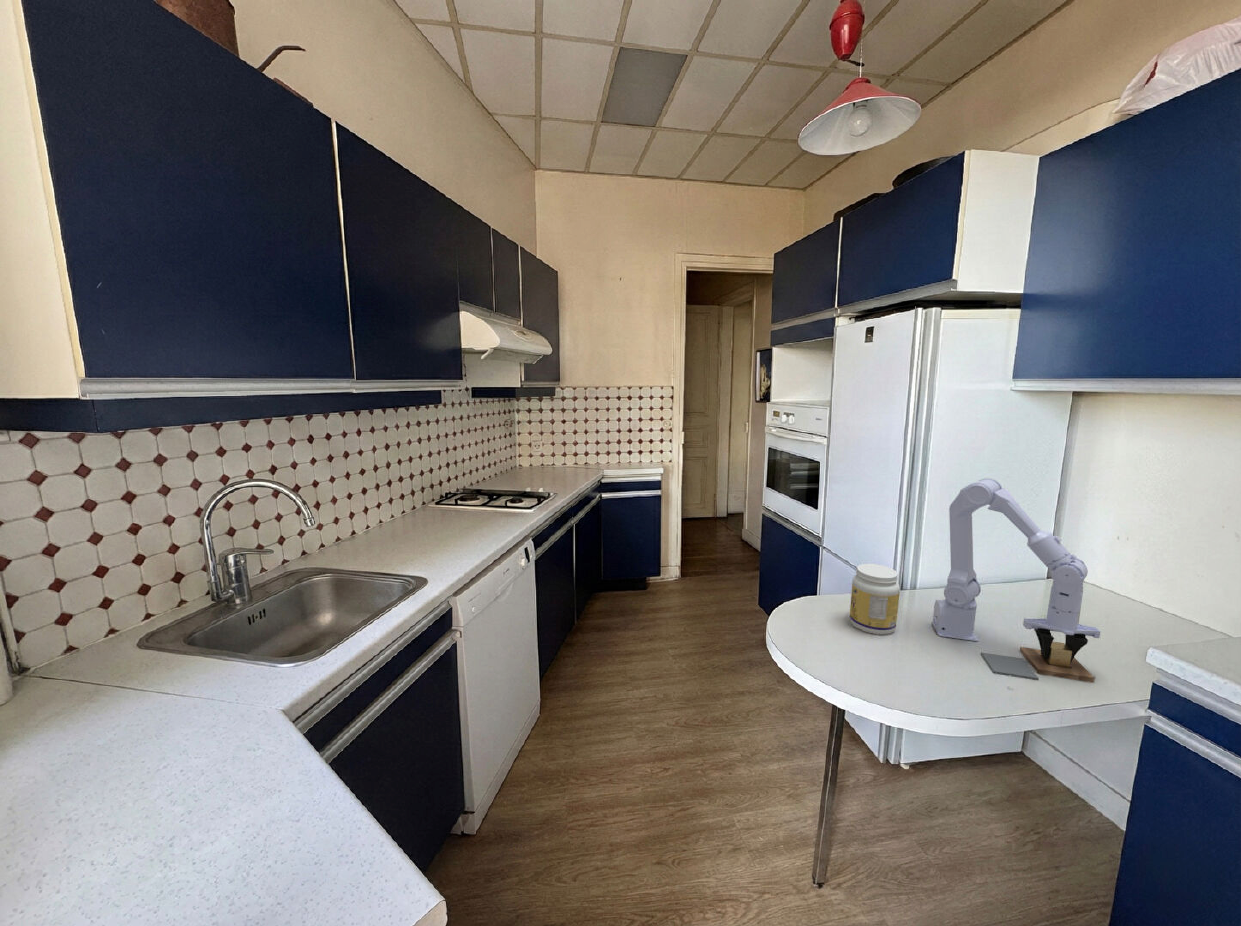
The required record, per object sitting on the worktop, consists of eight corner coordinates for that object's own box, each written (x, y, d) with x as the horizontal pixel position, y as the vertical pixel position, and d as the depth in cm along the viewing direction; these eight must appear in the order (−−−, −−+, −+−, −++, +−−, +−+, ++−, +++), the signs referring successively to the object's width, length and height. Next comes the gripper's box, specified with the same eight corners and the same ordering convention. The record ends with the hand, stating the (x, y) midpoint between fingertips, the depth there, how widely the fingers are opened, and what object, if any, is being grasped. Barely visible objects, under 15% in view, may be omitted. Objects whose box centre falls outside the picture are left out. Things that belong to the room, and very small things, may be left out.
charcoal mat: (993, 672, 121) (993, 671, 121) (980, 653, 129) (980, 651, 129) (1038, 680, 118) (1038, 678, 118) (1022, 660, 126) (1022, 658, 126)
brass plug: (1048, 668, 122) (1051, 648, 121) (1041, 660, 126) (1044, 640, 125) (1068, 671, 121) (1072, 651, 120) (1060, 663, 125) (1063, 642, 124)
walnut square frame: (1038, 673, 120) (1038, 669, 120) (1019, 650, 130) (1020, 646, 130) (1094, 682, 117) (1094, 677, 117) (1070, 658, 127) (1071, 654, 127)
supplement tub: (846, 613, 152) (850, 560, 149) (890, 618, 148) (895, 564, 145) (852, 632, 140) (857, 576, 137) (900, 638, 137) (906, 581, 134)
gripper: (1035, 610, 120) (1027, 662, 122) (1111, 619, 115) (1101, 673, 117) (1022, 598, 126) (1015, 647, 128) (1094, 606, 121) (1085, 657, 124)
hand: (1055, 658), depth 123 cm, fingers closed on brass plug, 4 cm apart
